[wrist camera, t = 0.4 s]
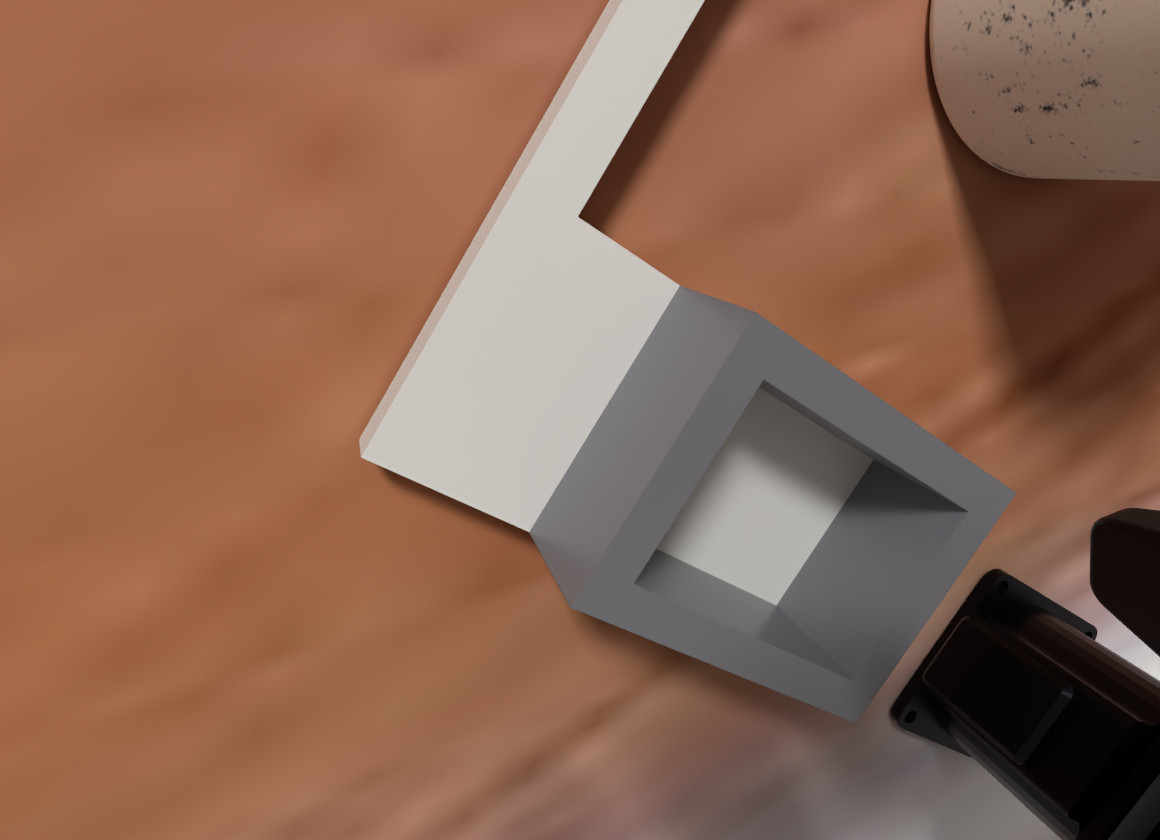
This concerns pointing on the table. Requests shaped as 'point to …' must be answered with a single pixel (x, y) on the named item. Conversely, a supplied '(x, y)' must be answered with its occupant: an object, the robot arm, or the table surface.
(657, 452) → the grey open storage bin
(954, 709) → the robot arm
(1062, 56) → the teacup with lid
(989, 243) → the table surface
